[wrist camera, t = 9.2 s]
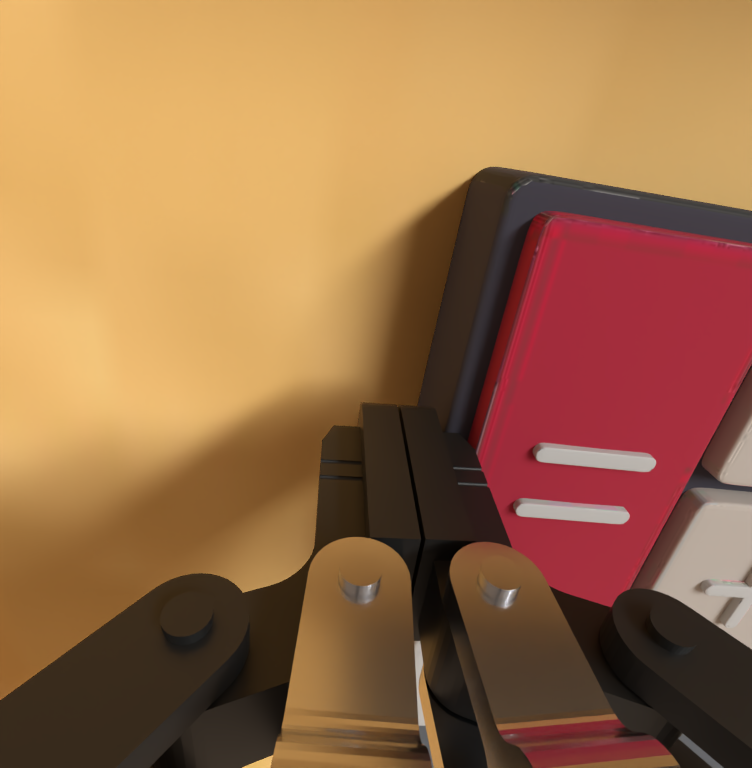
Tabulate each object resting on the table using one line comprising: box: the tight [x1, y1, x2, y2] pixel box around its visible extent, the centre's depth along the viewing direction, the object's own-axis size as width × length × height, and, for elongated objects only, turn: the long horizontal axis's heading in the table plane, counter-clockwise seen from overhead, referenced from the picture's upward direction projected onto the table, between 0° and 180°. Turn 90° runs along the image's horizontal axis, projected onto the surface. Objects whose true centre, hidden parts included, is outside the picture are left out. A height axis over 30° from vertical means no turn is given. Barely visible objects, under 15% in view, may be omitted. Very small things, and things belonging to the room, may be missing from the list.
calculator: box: [414, 167, 752, 726], centre depth 13 cm, size 11×4×15 cm
